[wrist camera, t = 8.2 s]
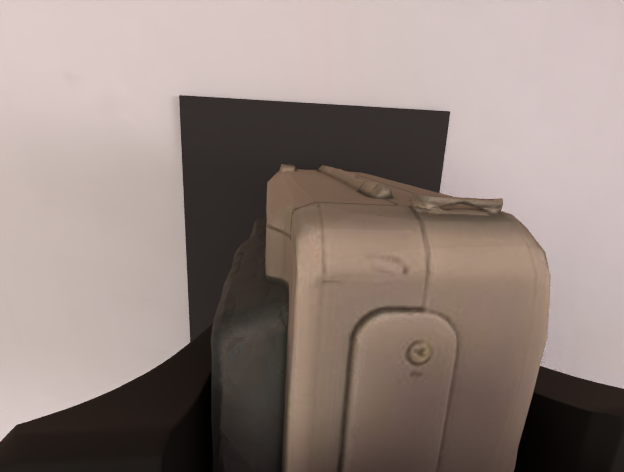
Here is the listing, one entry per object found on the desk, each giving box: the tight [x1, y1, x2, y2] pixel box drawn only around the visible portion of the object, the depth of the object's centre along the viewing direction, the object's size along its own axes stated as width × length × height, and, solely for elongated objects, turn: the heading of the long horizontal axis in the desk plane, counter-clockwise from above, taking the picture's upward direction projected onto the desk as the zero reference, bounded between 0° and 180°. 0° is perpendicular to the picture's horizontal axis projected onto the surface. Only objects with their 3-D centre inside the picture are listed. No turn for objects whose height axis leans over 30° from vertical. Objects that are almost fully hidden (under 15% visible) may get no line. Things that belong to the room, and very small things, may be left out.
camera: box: [211, 164, 550, 472], centre depth 10 cm, size 11×6×10 cm, turn 175°
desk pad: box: [179, 96, 450, 342], centre depth 17 cm, size 20×11×1 cm, turn 177°
